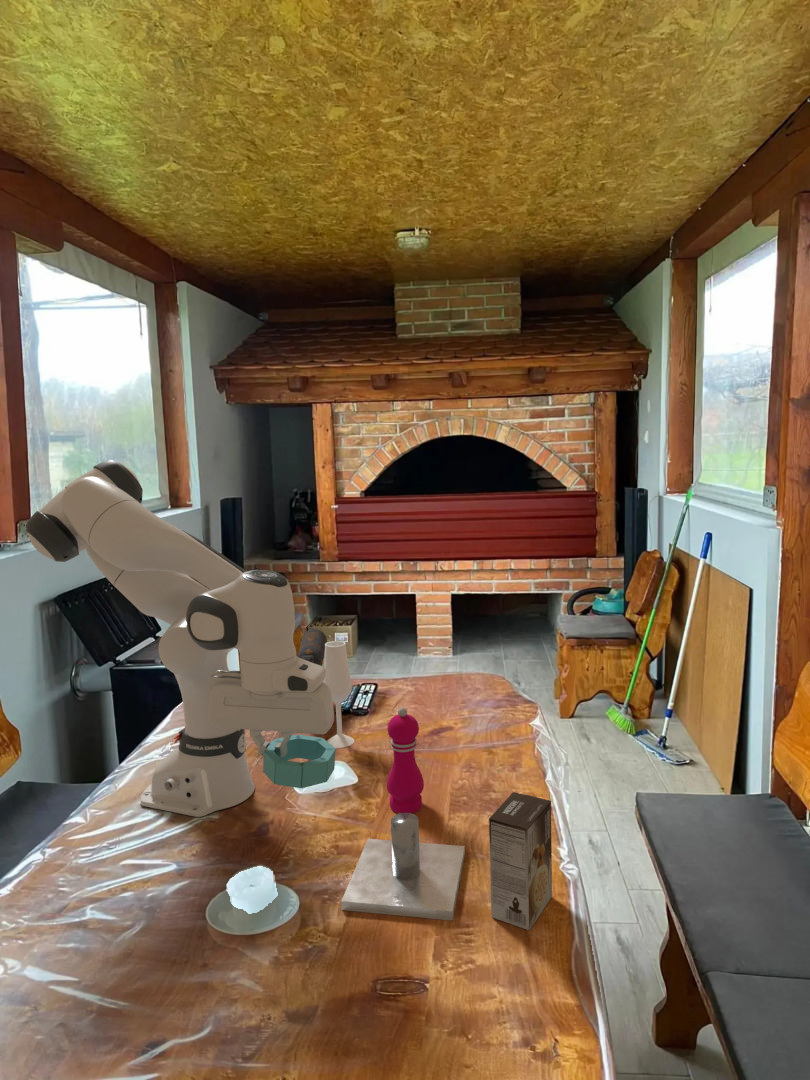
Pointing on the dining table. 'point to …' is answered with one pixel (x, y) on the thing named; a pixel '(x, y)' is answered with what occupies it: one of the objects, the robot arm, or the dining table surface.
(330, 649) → the champagne flute
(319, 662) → the gun
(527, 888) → the coffee box
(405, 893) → the post stand
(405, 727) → the pepper mill
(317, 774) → the ring
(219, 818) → the dining table surface
